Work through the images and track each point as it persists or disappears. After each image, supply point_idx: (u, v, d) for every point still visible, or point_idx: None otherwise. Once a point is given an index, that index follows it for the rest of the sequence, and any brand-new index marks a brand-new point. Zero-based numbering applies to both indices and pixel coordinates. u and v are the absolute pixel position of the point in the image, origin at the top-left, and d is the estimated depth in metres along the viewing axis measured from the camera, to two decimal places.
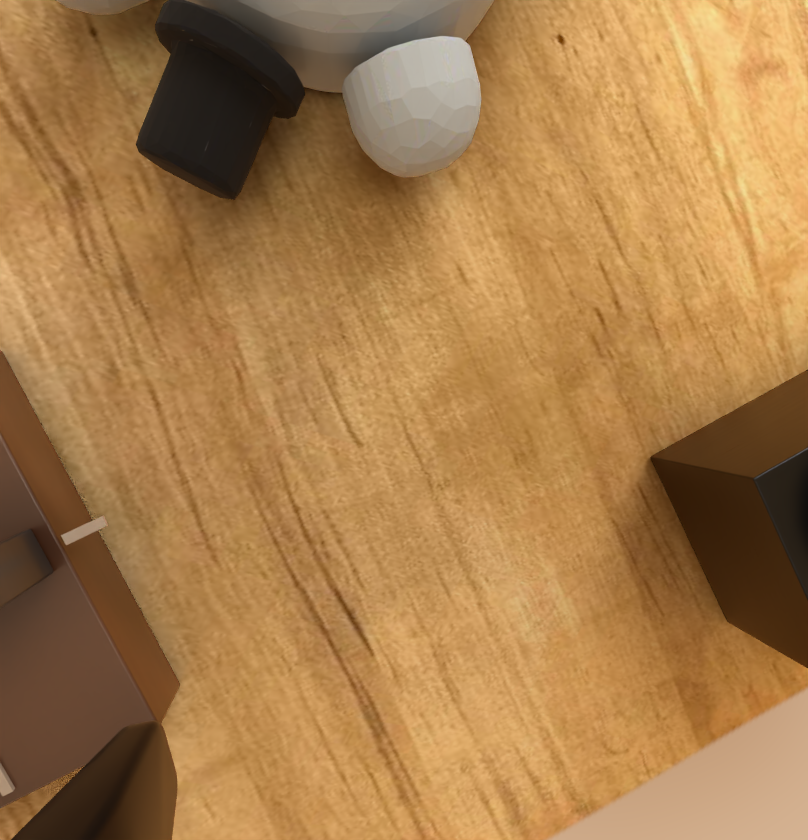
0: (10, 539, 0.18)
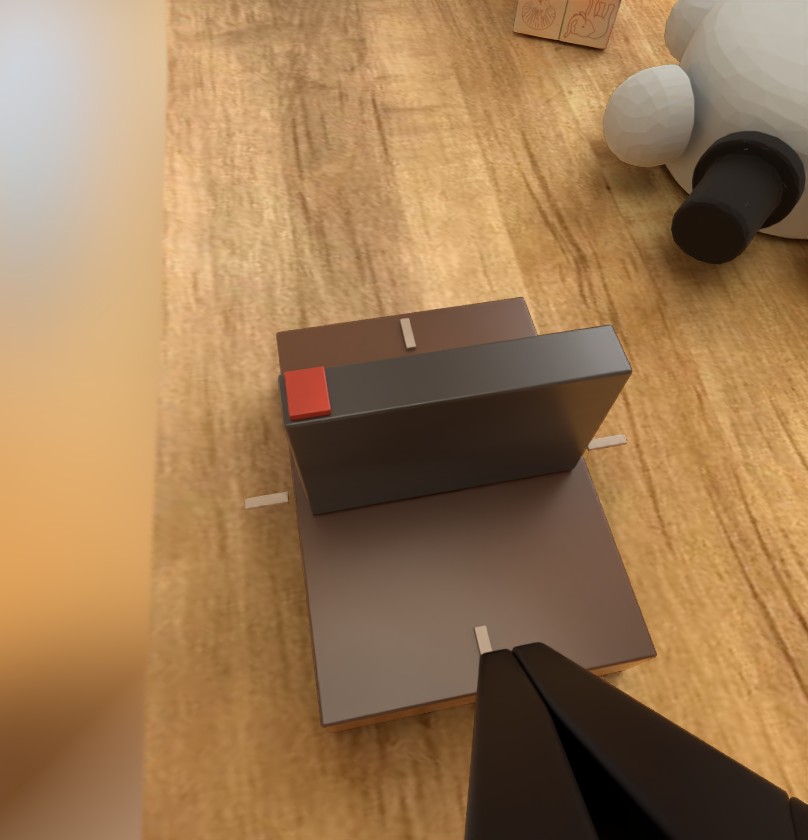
0: None
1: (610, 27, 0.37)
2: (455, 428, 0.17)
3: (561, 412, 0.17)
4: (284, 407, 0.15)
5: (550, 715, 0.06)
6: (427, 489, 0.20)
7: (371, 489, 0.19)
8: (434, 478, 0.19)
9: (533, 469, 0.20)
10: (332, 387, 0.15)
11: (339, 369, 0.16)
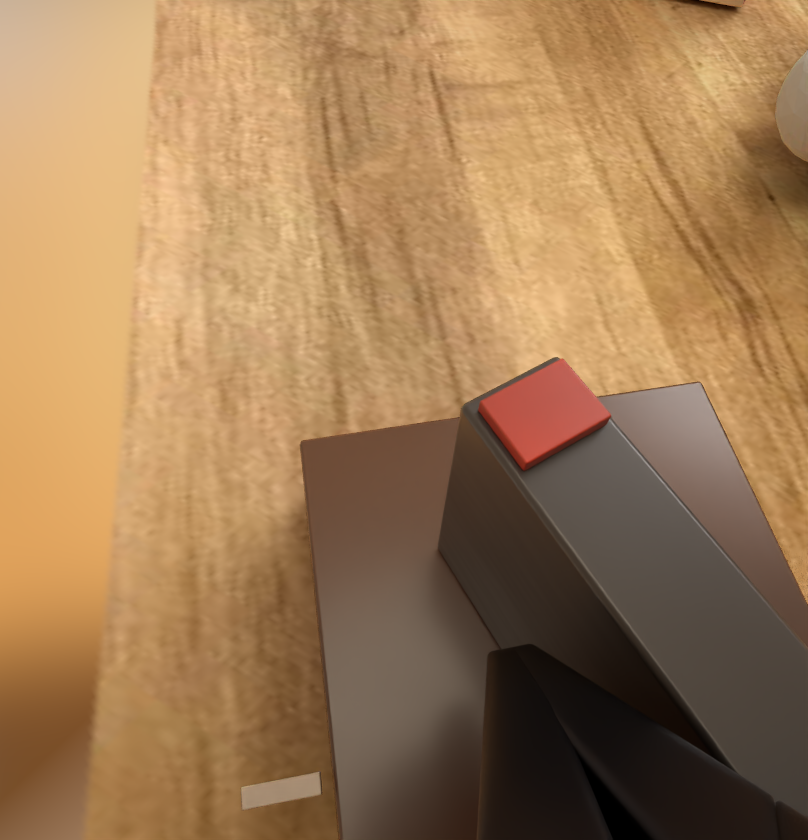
0: None
1: None
2: None
3: None
4: (499, 389, 0.08)
5: (539, 717, 0.06)
6: None
7: (497, 616, 0.11)
8: None
9: None
10: (580, 450, 0.08)
11: (625, 447, 0.08)
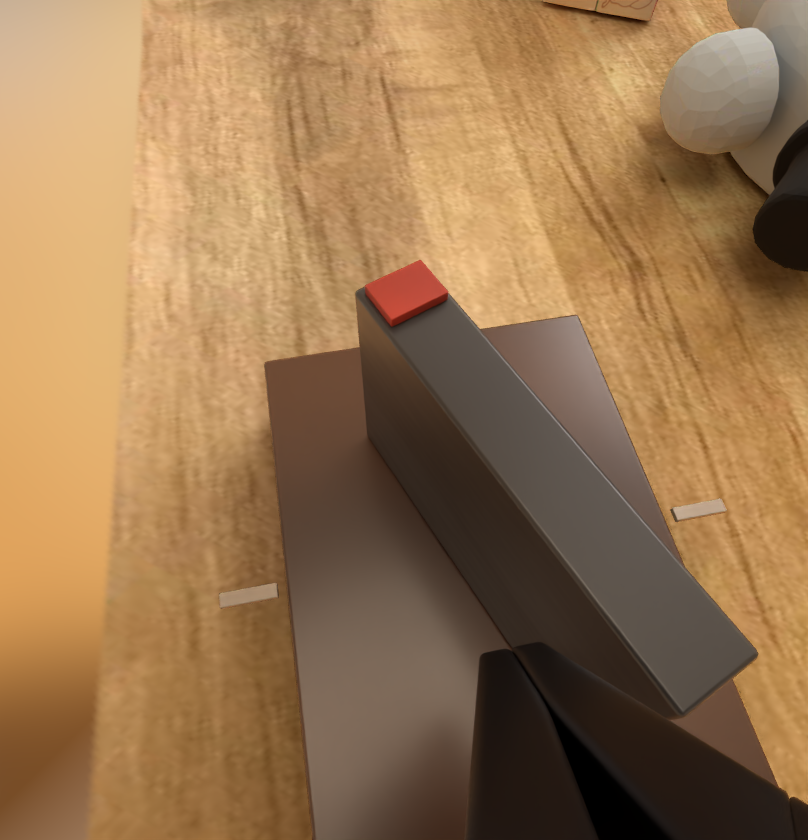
0: None
1: None
2: (474, 497, 0.12)
3: (578, 639, 0.10)
4: None
5: (550, 715, 0.06)
6: (443, 538, 0.15)
7: (404, 468, 0.15)
8: (449, 534, 0.14)
9: None
10: (429, 314, 0.12)
11: (458, 312, 0.12)
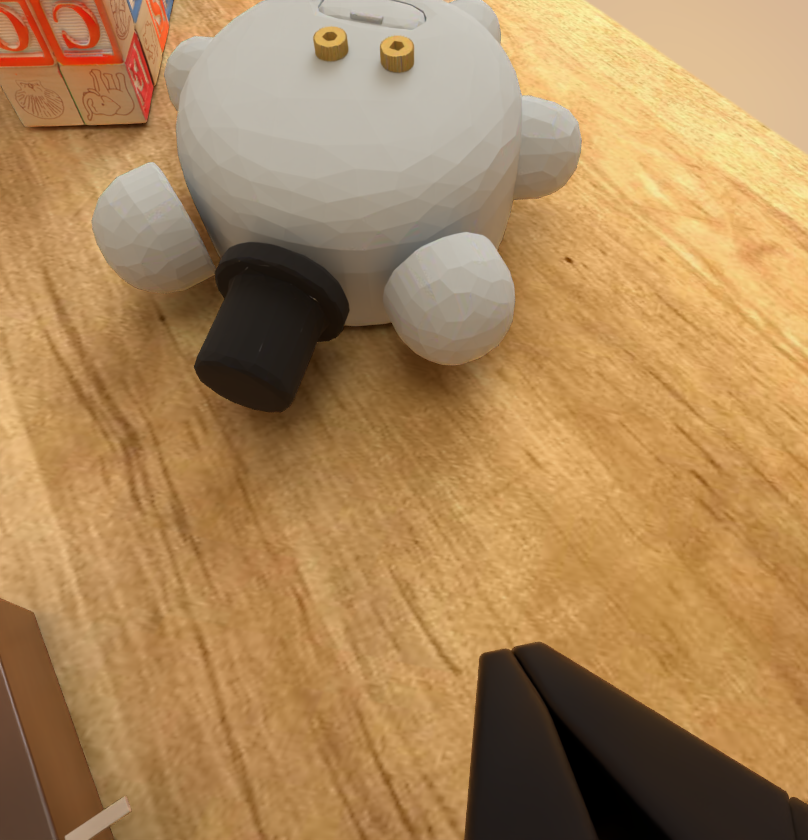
0: None
1: (135, 98, 0.29)
2: None
3: None
4: None
5: (550, 715, 0.06)
6: None
7: None
8: None
9: None
10: None
11: None
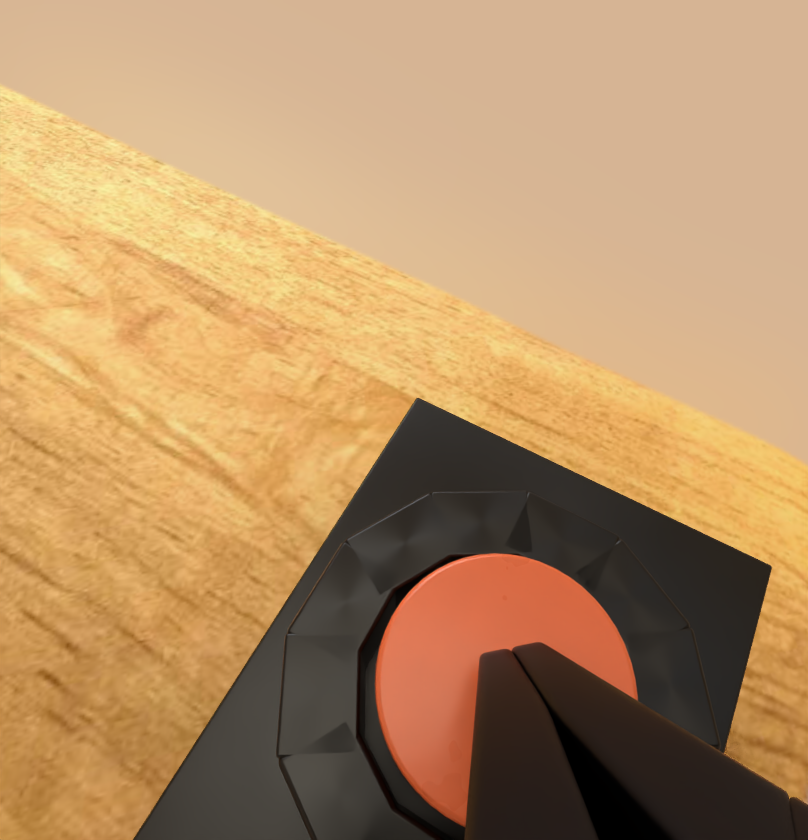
0: None
1: None
2: None
3: None
4: None
5: (550, 715, 0.06)
6: None
7: None
8: None
9: None
10: None
11: None
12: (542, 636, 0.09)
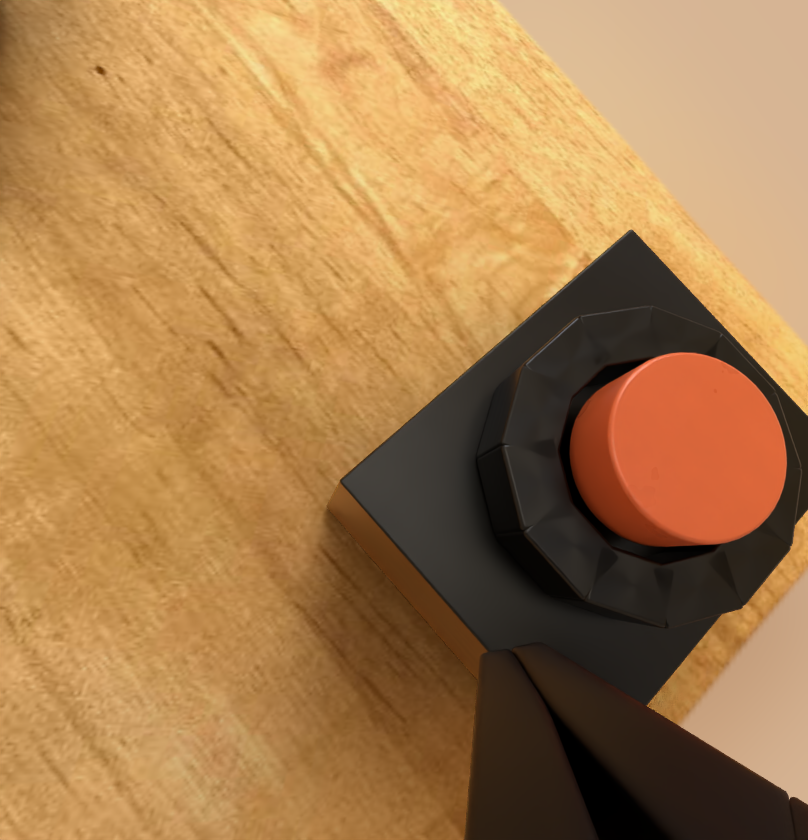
0: None
1: None
2: None
3: None
4: None
5: (550, 715, 0.06)
6: None
7: None
8: None
9: None
10: None
11: None
12: (733, 425, 0.11)
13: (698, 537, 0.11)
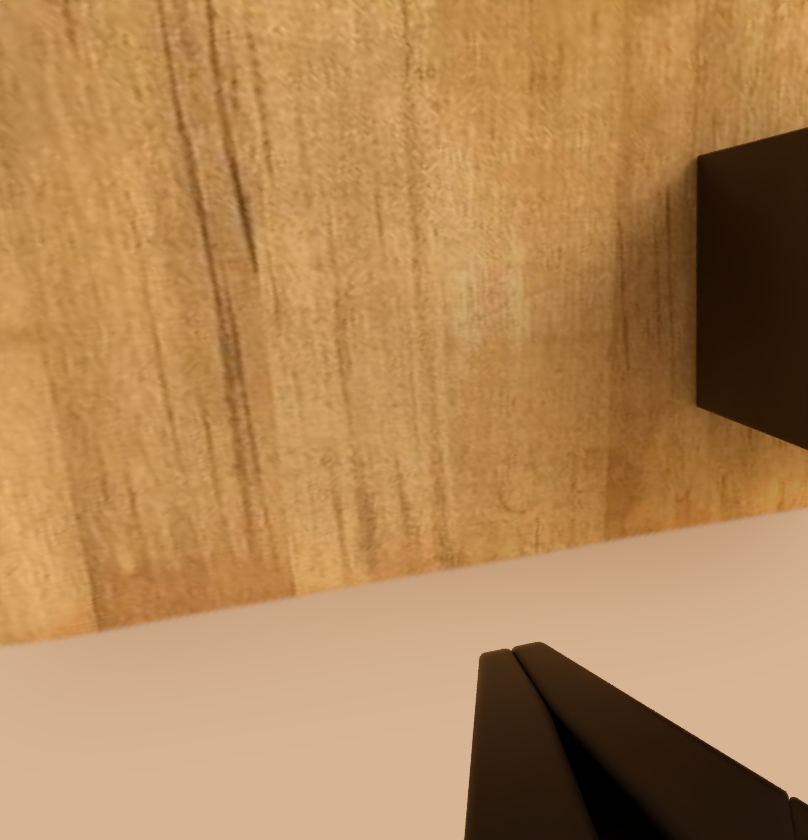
0: None
1: None
2: None
3: None
4: None
5: (550, 715, 0.06)
6: None
7: None
8: None
9: None
10: None
11: None
12: None
13: None
